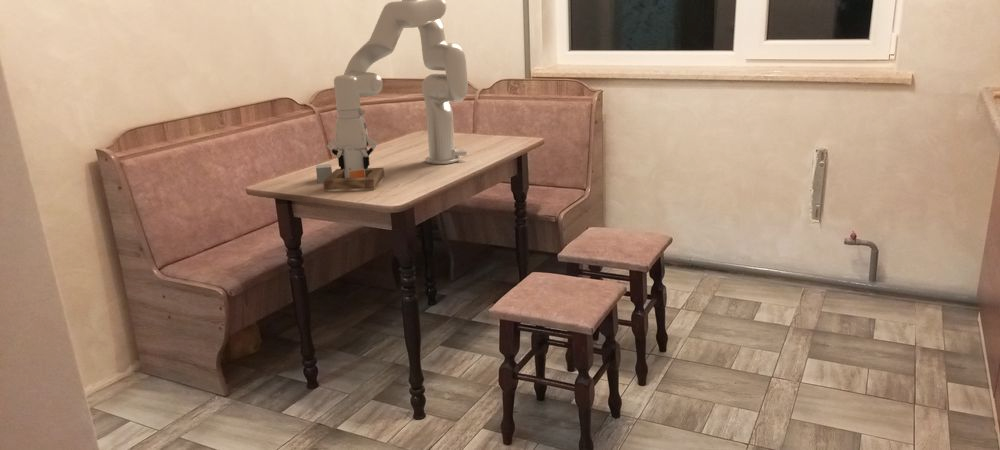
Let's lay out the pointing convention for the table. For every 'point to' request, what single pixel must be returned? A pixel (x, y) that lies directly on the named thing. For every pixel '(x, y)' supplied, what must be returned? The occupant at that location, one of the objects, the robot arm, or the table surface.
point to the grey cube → (323, 172)
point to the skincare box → (353, 163)
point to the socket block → (354, 180)
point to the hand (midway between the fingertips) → (354, 168)
